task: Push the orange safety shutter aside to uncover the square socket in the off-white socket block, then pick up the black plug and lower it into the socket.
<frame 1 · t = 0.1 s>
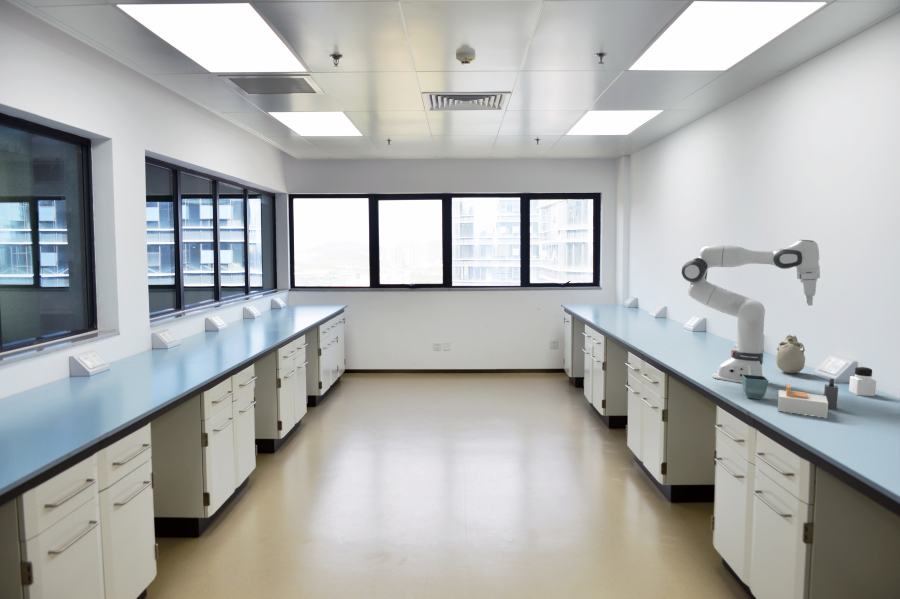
hand: (809, 304, 249), 39 cm above the table, tool pointing down, fingers open, 8 cm apart
flower pot: (753, 398, 233), on the table
socket: (801, 411, 214), on the table
plug: (829, 407, 219), on the table
shutter: (796, 391, 214), point 8 cm above the table, slide at 0.0 cm
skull: (789, 373, 281), on the table
medicine bottle: (861, 394, 242), on the table
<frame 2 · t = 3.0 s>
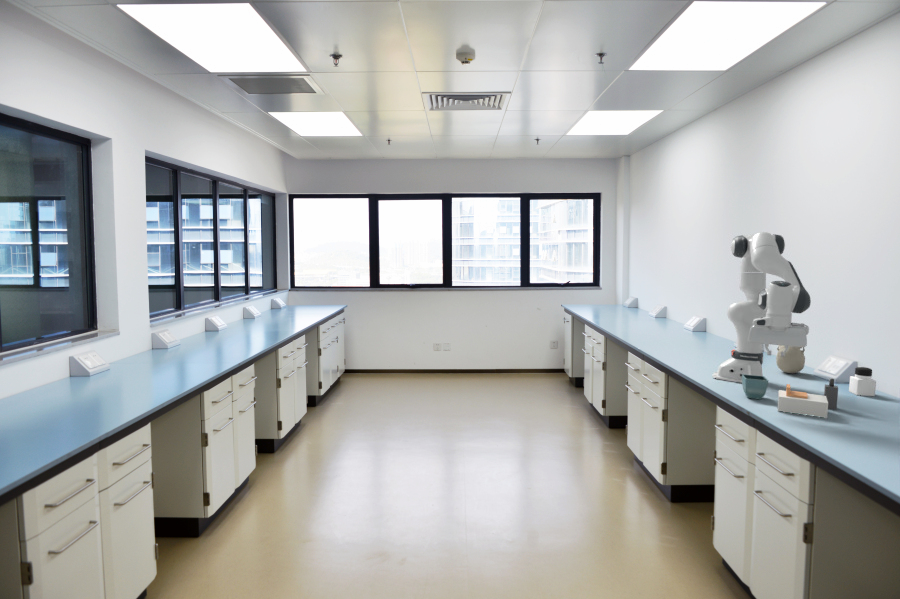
hand: (775, 355, 217), 21 cm above the table, tool pointing down, fingers open, 3 cm apart
nothing on the table moved.
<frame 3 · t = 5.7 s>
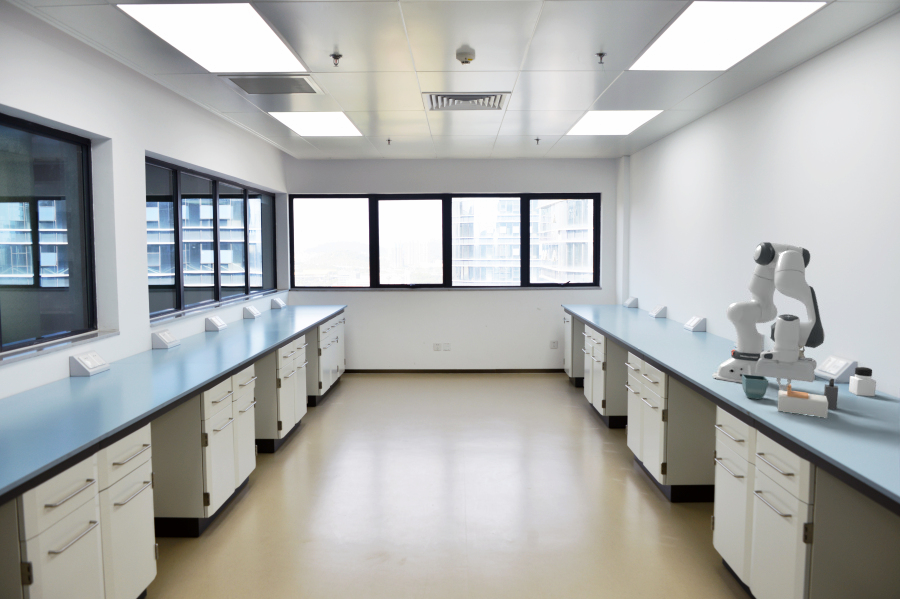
hand: (783, 389, 217), 8 cm above the table, tool pointing down, fingers closed
shutter: (797, 391, 214), point 8 cm above the table, slide at 0.4 cm, touching gripper
everything else where it was.
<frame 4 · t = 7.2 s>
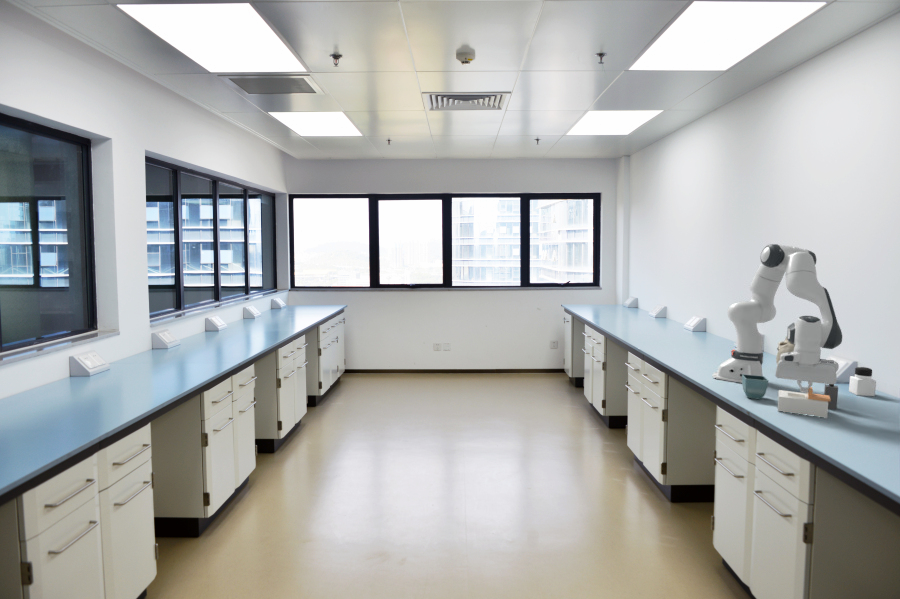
hand: (804, 392, 213), 8 cm above the table, tool pointing down, fingers closed
shutter: (819, 393, 211), point 8 cm above the table, slide at 7.4 cm, touching gripper
everything else where it was.
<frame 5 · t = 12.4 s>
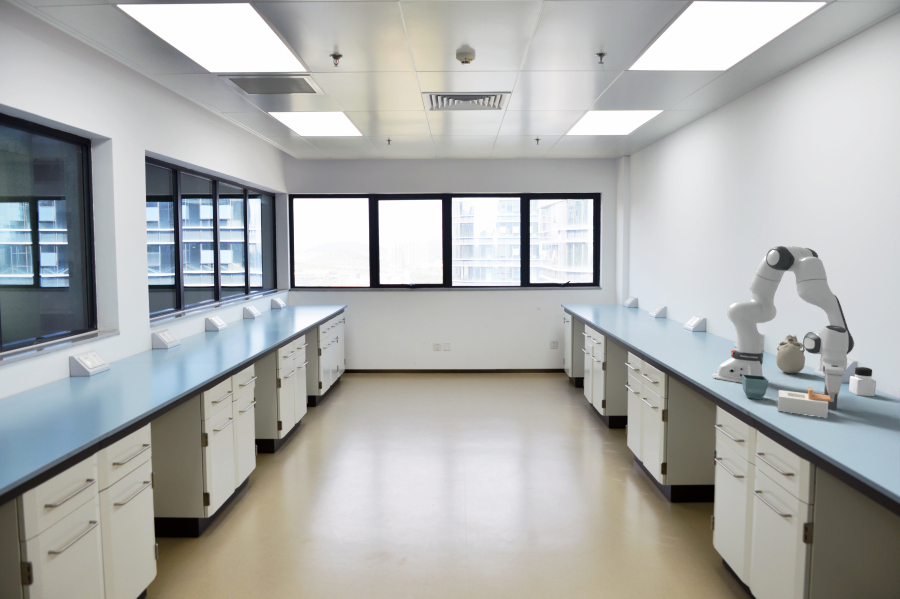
hand: (830, 399, 219), 3 cm above the table, tool pointing down, fingers closed on plug, 4 cm apart
plug: (829, 407, 219), on the table, touching gripper
shutter: (819, 393, 210), point 8 cm above the table, slide at 7.4 cm
everything else where it was.
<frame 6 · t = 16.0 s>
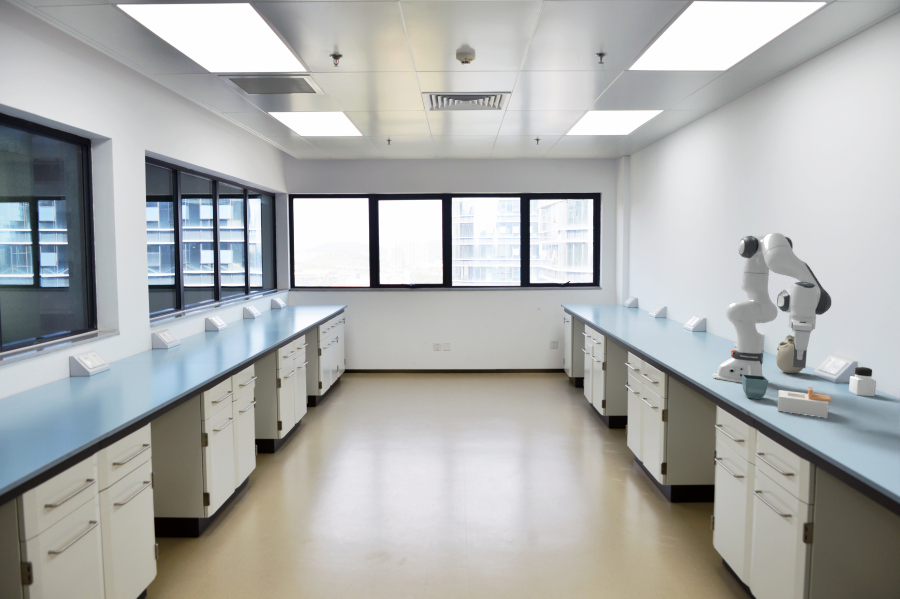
hand: (799, 358, 213), 21 cm above the table, tool pointing down, fingers closed on plug, 4 cm apart
plug: (798, 366, 213), point 18 cm above the table, touching gripper
everything else where it was.
when the fingers open (7 cm above the table, at t = 19.1 s): plug drops 1 cm, resting on socket.
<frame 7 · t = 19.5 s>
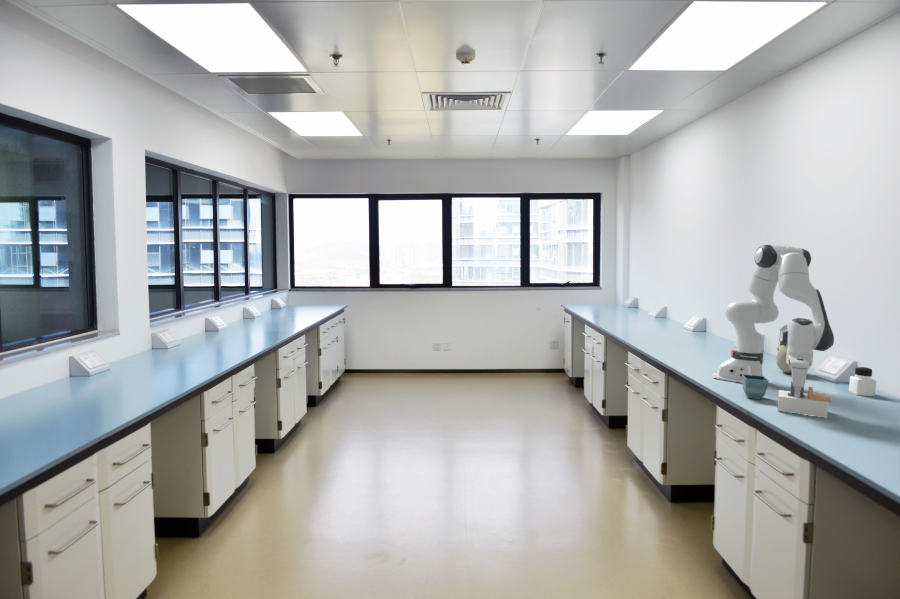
hand: (796, 394, 214), 7 cm above the table, tool pointing down, fingers open, 8 cm apart
plug: (795, 405, 215), point 2 cm above the table, touching socket
everything else where it was.
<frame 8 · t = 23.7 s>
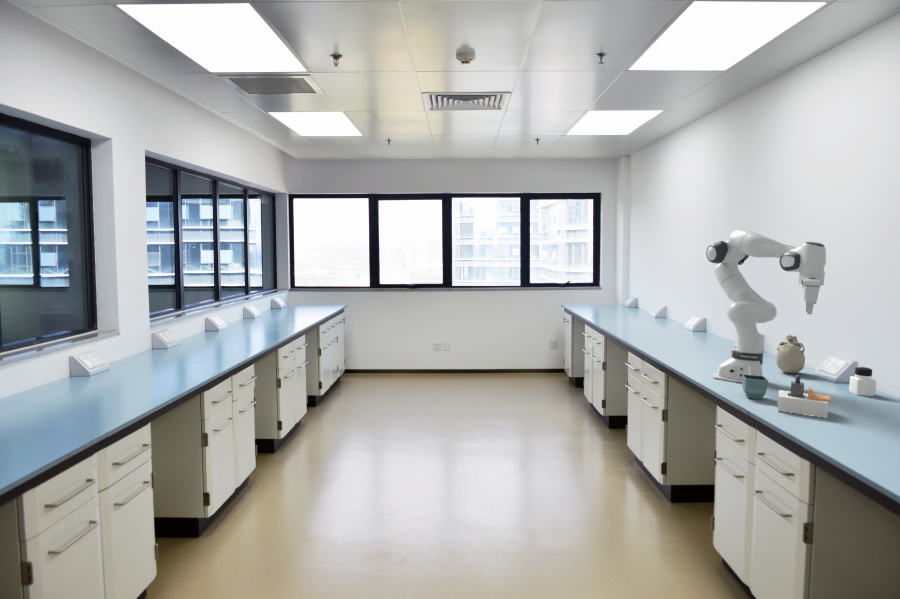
hand: (808, 313, 229), 37 cm above the table, tool pointing down, fingers open, 8 cm apart
nothing on the table moved.
at the end: plug 0.1 cm from the target spot on the socket, point 2.0 cm above the socket's base; plug tilted 0°; shutter slide at 7.4 cm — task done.
